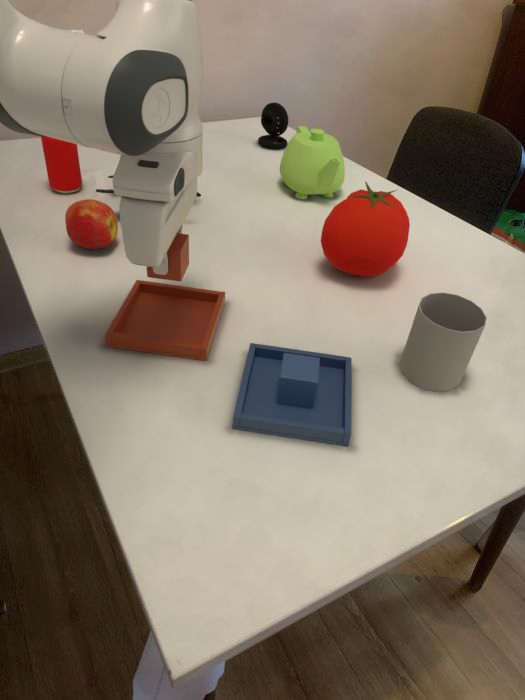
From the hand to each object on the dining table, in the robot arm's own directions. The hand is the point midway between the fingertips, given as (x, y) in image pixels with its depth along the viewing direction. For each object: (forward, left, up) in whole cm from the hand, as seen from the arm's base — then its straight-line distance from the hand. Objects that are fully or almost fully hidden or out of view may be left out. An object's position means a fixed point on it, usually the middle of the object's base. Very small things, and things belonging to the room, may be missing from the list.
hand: (167, 260), depth 70 cm
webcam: (+6, +78, -11) cm, 79 cm away
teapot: (+17, +53, -11) cm, 57 cm away
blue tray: (+19, -11, -10) cm, 24 cm away
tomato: (+27, +22, -11) cm, 36 cm away
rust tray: (0, 0, -10) cm, 10 cm away
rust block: (0, 0, -2) cm, 2 cm away
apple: (-18, +18, -11) cm, 28 cm away
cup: (+37, -2, -11) cm, 38 cm away
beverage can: (-31, +38, -11) cm, 50 cm away
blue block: (+19, -11, -10) cm, 24 cm away
